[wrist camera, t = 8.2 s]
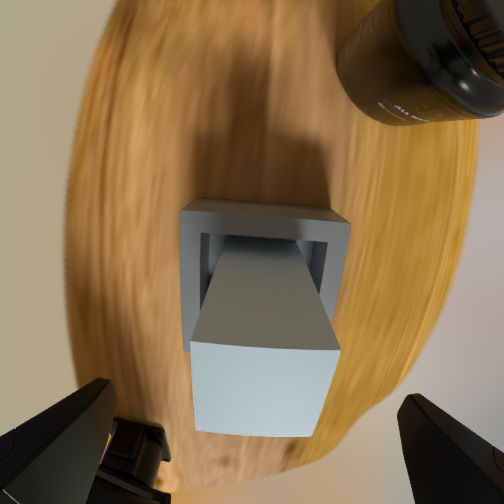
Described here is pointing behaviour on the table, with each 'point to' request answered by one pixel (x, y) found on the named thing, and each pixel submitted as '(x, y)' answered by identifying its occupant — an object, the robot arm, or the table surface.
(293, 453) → the table surface
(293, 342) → the blue-grey block
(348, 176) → the table surface
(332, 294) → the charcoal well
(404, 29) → the supplement bottle
